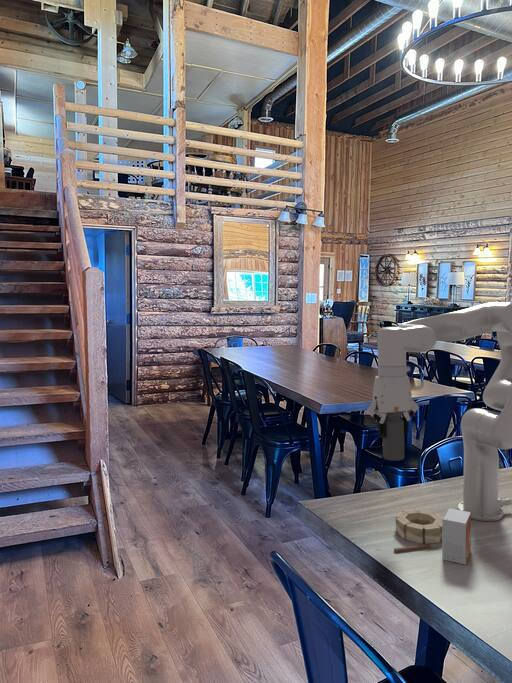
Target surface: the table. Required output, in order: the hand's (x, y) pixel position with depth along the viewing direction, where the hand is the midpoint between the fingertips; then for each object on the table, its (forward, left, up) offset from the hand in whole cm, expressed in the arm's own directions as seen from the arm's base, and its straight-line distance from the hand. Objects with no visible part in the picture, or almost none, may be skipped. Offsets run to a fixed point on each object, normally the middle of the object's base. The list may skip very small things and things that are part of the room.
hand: (393, 434), depth 141 cm
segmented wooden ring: (-6, +5, -27) cm, 28 cm away
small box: (-8, +18, -27) cm, 34 cm away
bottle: (0, 0, -7) cm, 7 cm away
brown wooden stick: (+1, +13, -27) cm, 30 cm away
